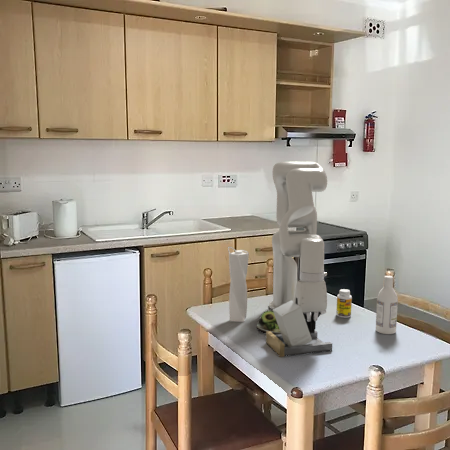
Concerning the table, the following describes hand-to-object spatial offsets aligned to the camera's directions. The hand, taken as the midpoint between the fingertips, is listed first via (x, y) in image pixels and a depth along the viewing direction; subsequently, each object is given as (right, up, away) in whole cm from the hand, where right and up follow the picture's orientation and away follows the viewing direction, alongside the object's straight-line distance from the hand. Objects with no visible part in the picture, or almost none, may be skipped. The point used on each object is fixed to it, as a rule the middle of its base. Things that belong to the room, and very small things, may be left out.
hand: (310, 331), depth 163 cm
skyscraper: (-23, -1, +27) cm, 36 cm away
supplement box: (-4, -3, 0) cm, 5 cm away
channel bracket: (-4, -5, +1) cm, 6 cm away
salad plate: (-8, -3, +19) cm, 21 cm away
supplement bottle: (+18, -1, +32) cm, 37 cm away
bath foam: (+30, -3, +16) cm, 33 cm away
